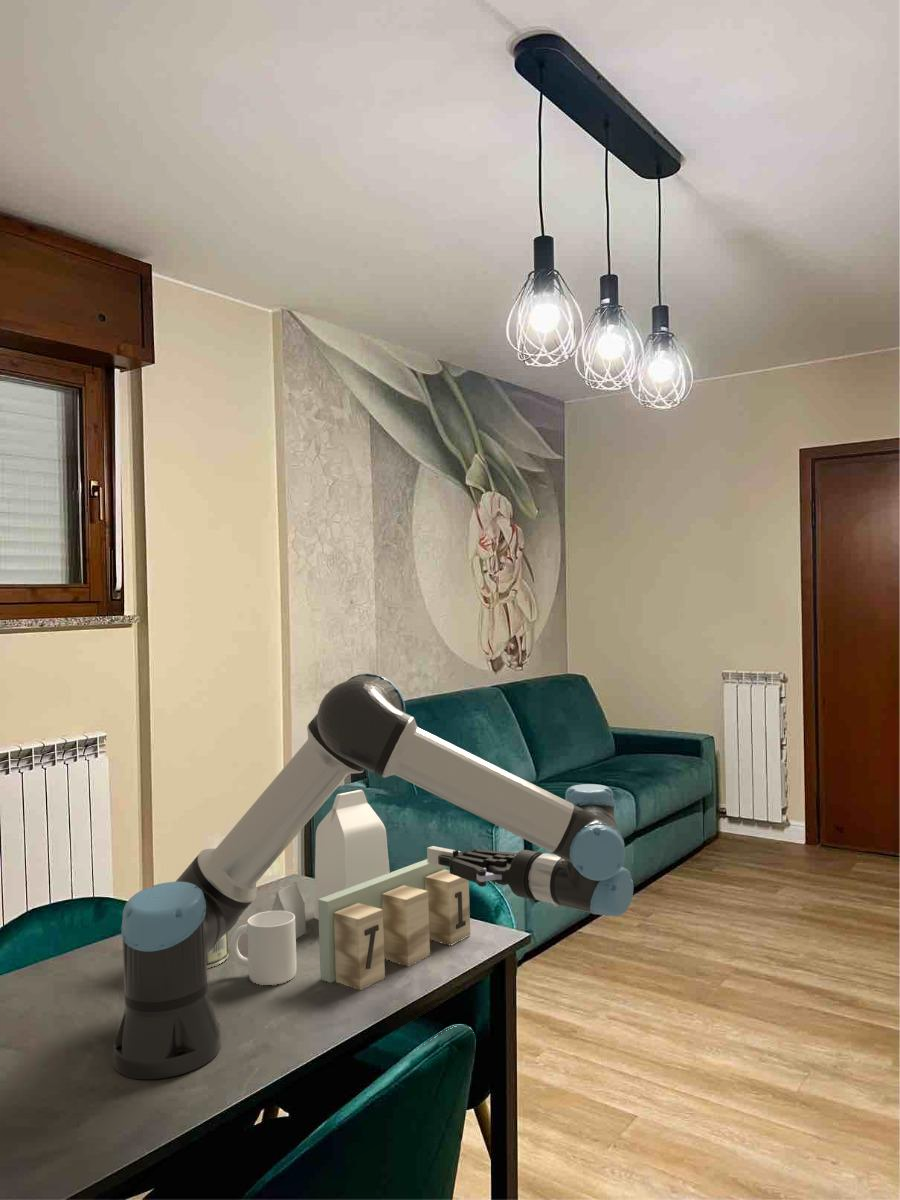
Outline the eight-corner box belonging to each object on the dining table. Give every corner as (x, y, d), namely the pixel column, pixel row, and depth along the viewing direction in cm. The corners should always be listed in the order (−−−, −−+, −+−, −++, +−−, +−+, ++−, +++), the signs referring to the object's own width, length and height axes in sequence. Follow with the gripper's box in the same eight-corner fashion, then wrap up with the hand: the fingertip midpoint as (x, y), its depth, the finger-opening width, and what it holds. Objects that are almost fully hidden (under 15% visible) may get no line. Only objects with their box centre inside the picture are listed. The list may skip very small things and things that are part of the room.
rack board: (447, 927, 181) (445, 857, 181) (330, 982, 156) (327, 901, 156) (438, 925, 182) (436, 855, 182) (320, 979, 158) (318, 899, 158)
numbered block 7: (386, 978, 157) (383, 909, 157) (361, 990, 153) (359, 919, 153) (360, 970, 161) (358, 902, 161) (335, 981, 157) (333, 912, 157)
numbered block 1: (471, 936, 176) (469, 874, 176) (451, 946, 171) (449, 882, 171) (446, 929, 180) (444, 869, 180) (426, 939, 175) (425, 877, 175)
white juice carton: (305, 932, 181) (303, 882, 181) (287, 945, 174) (285, 893, 174) (289, 930, 182) (287, 881, 182) (271, 943, 176) (269, 891, 176)
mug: (221, 984, 157) (219, 924, 157) (242, 965, 165) (240, 908, 165) (285, 988, 155) (283, 928, 155) (303, 968, 163) (302, 911, 163)
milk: (346, 931, 180) (342, 801, 180) (314, 918, 189) (310, 793, 189) (393, 916, 188) (389, 791, 188) (360, 903, 197) (356, 784, 197)
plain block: (430, 956, 167) (428, 890, 167) (408, 966, 162) (406, 899, 162) (405, 948, 170) (403, 885, 170) (383, 959, 166) (381, 893, 166)
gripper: (517, 911, 142) (406, 884, 157) (562, 888, 152) (453, 866, 167) (516, 863, 142) (404, 841, 157) (561, 844, 152) (452, 825, 167)
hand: (430, 854), depth 162 cm, fingers closed
